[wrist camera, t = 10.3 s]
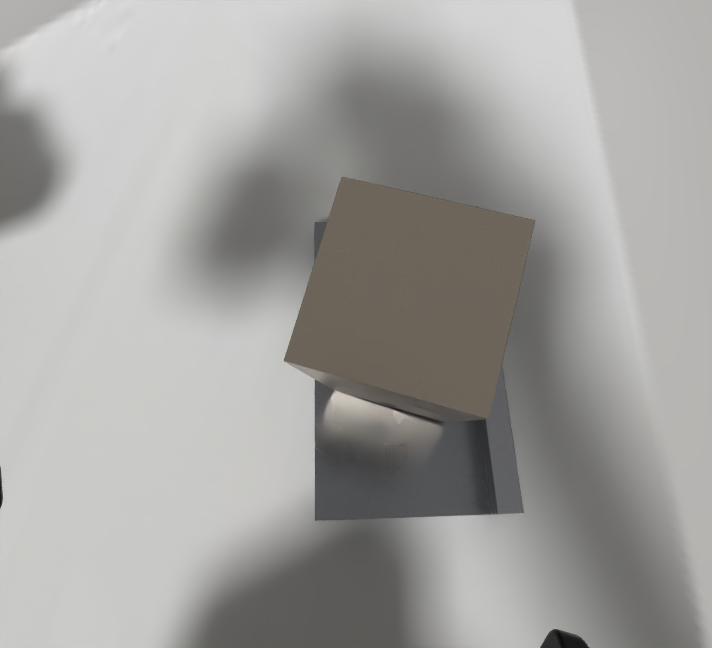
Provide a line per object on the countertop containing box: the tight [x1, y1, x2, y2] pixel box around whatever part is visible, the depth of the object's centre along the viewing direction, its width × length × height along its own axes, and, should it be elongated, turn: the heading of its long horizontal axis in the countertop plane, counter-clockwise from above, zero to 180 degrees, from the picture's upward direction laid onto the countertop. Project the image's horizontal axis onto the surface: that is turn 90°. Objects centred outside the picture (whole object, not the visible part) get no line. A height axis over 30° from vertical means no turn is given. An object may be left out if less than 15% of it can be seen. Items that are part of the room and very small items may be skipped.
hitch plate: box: [315, 222, 524, 521], centre depth 22 cm, size 14×8×2 cm, turn 2°
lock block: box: [284, 177, 535, 423], centre depth 17 cm, size 5×5×10 cm
